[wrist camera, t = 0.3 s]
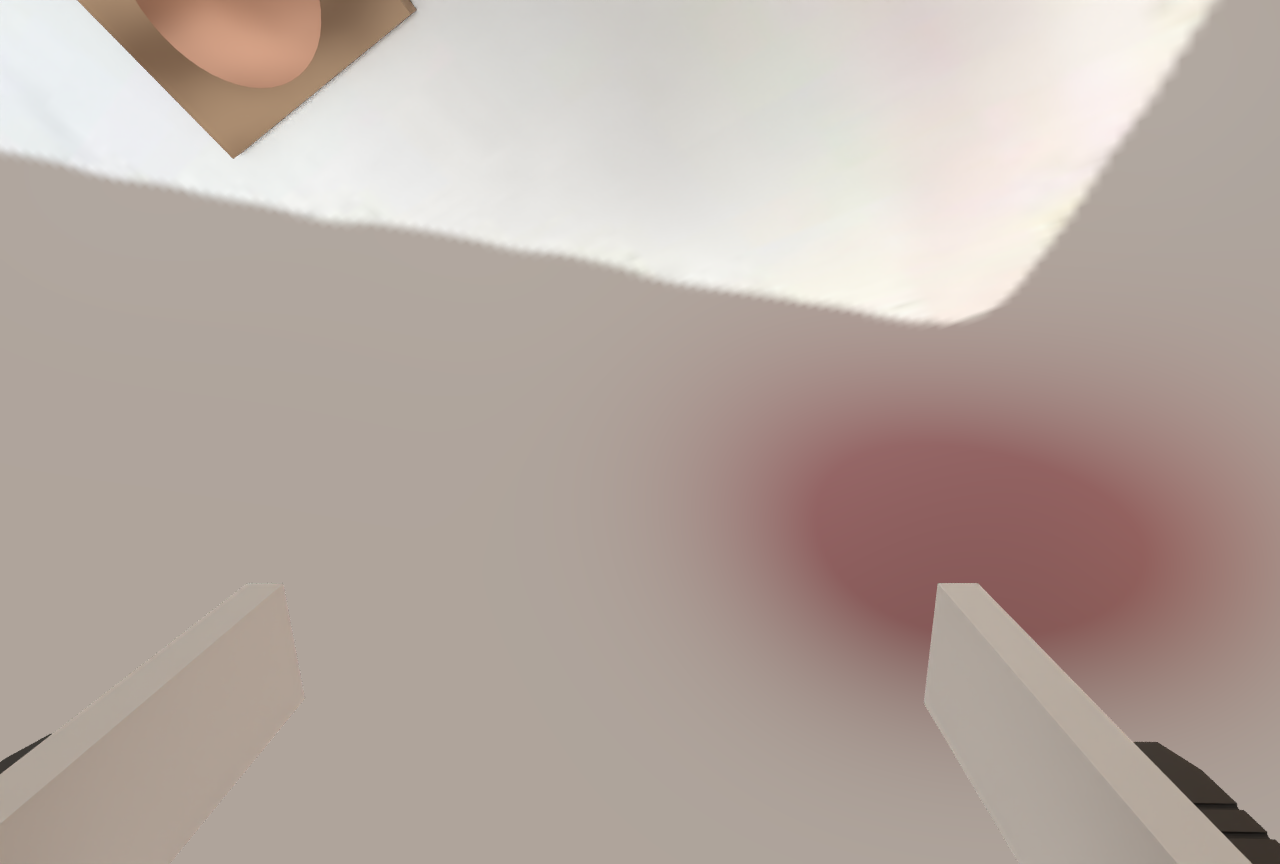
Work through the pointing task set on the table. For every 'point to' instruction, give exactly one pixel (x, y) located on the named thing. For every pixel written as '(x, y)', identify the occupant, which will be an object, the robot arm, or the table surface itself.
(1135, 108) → the table surface
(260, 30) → the walnut board
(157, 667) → the robot arm
